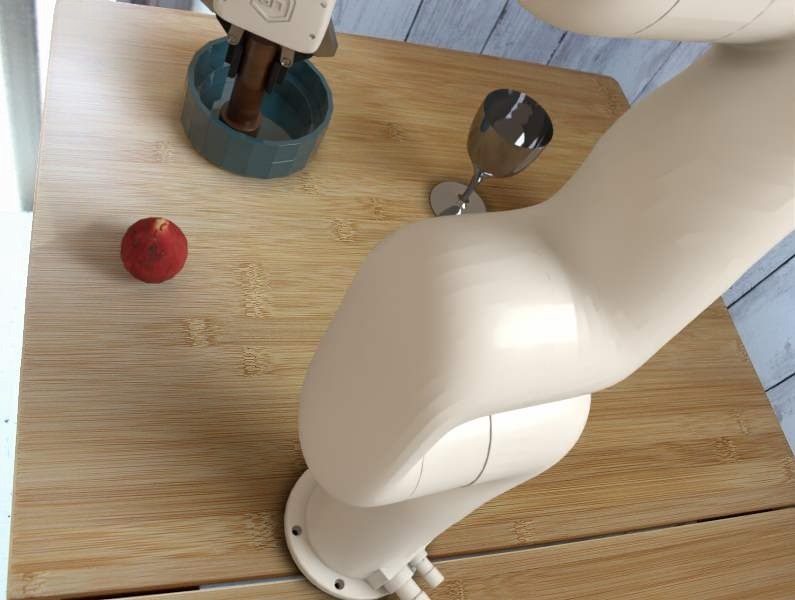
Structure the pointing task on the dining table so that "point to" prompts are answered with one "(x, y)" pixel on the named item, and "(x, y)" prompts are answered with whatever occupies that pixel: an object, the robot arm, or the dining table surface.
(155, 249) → the red round fruit
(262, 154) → the bowl
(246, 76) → the pestle
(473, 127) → the wine glass
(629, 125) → the robot arm
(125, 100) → the dining table surface
